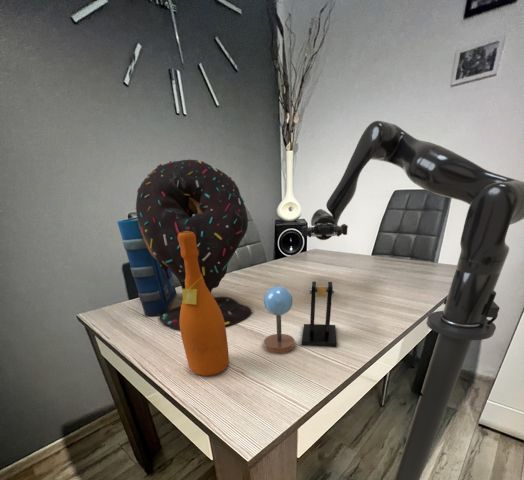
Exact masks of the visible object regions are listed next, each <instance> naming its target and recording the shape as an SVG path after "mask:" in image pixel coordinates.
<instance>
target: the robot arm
mask: <svg viewBox="0 0 524 480" xmlns="http://www.w3.org/2000/svg"><path fill="white" fill-rule="evenodd" d="M371 160H373V161H379V162H385V163H389V164H392V165H393V166H396V167H398V168H400V169H402V171H403V172H404V173H405V175H406V177H407V178H408V179H409V181H411V182H413V183H414V184H415V186H418V187H420V188H422V189H423V190H425V191H427V192H429V193H432V194H434V195H438V196H441V197H445V198H449V199H453V200H457V201H460V202H464V203H466V204H468V205H469V206H468V210H467V212H466V216H465V220H464V223H463V228H462V232H461V236H460V254H459V257H458V261H457V263H456V268H455V271H454V274H453V277H452V281H451V284H450V287H449V290H448V294H447V297H446V298H445V299H444V301H443V305H444V307H443V310H442V311H443V313H442V316H441V320H442V321H443V322H444V323H446V324H448V325H451V326H454V327H459V328H468V329H471V328H478V327H480V328H483V327H484V324H485V321H486V319H488V318H491V319H489V320H490V321H488V322H487V324H489V325H490V324H491V323H492V322H493V323H494V322H495V321H496V320H497V319H498V316H499V312H500V309H501V308H500V306H499V305H498V304H497V303H496V302H495V298H496V296H497V292H496V291H495V289H496V287H497V284H498V281H499V278H500V275H501V273H502V271H503V268H504V265H505V262H506V260H507V258H508V255H509V252H510V247H509V245H508V244H506V243H507V242H506V238H507V234H508V231H509V228H510V226H511V225H513V224H517V223H519V222H521V221H523V220H524V181H522V180H519V179H515V178H511V177H509V176H504V175H501V174H498V173H496V172H493V171H490V170H488V169H486V168H483V167H482V166H480V165H478V164H476V163H475V162H473V161H471V160H469V159H468V158H466V157H464V156H462V155H461V154H459V153H456V152H455V151H453V150H450V149H448V148H446V147H444V146H441V145H438V144H435V143H433V142H430V141H426V140H420V139H417V138H415V137H414V136H412V135H411V134H409V133H408V132H407V131H406V130H403V129H402V127H400V126H398V125H397V124H394V123H391V122H387V121H383V120H375V121H372V122H371V123H369V125H368V126H367V127H366V128H365V130H364V131H363V133H362V135H361V136H360V138H359V140H358V143H357V144H356V147H355V148H354V151H353V153H352V155H351V157H350V160H349V162H348V163H347V166H346V168H345V171H344V173H343V175H342V176H341V178H340V180H339V182H338V184H337V185H336V187H335V189H334V190H333V192H332V194H331V195H330V196H329V198H328V200H327V202H326V204H325V207H326V209H327V211H328V212H327V211H326V210H325V209H322V208H320V209H317V210H316V211H315V212H314V213H313V215H312V217H311V219H310V225H311V226H308V225H303V226H302V227H301V236H302V237H308V238H312V237H314V238H316V239H317V240H319V241H326V240H329V239H331V238H332V237H340V236H342V235H344V236H347V235H348V228H349V226H348V224H345V223H343V224H341V225H339V224H338V223H339V220H340V218H341V216H342V214H343V213H344V211H345V209H346V208H347V207H348V205H349V204H350V203H351V201H352V200H353V198H354V196H355V194H356V191H357V187H358V181H359V178H360V175H361V173H362V171H363V169H364V168H365V166H366V165H367V164H368V163H369V162H370V161H371Z"/></svg>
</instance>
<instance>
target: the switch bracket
mask: <svg viewBox="0 0 524 480" xmlns="http://www.w3.org/2000/svg"><path fill="white" fill-rule="evenodd" d="M316 287H317V281H312V282H311V287H310V288H309V295H310V317H309V318H310V319H309V320H310V321H309V322H310V323H303V328H302V334H301V335H302V336H301V342H300V345H301V346H305V347H307V346H308V347H325V348H326V347H328V348H337V346H338V339H337V329H336V327H337V325H336V324H331V313H332V301H333V299H332V298H333V295H334V294H335V288H333V281H328V282H327V287H328V291H327V292H326V309H325V322H324V324H319V323H318V324H316V323H315V318H316V317H315V316H316V297H317V292H316Z"/></svg>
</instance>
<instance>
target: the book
mask: <svg viewBox="0 0 524 480" xmlns="http://www.w3.org/2000/svg"><path fill="white" fill-rule="evenodd" d="M116 222H117V226H118V229H119V232H120V236H121V240H122V245H123V248H124V250H125V253H126V256H127V260H128V263H129V266H130V272H131V274H132V277H133V280H134V283H135V286H136V289H137V294H138V298H139V301H140V303H141V306H142V309H143V313H144V315H145V316H146V317H156V316H161V315H162V314H163V313H165V312H166V311H168V310H169V308H170V306H171V304H172V303H173V301H174V299H175V298H176V296H177V290H176V286H175V282H174V277H173V273H172V272H171V269H170V268H168V269H167V271H168V275H169V279H167V278H166V272H165V271H164V270H163V269H162V267H161V266H160V264H159V262H158V261H157V260H156V259H155V258H154V257H153V256H152V255H151V253H150V252H149V250H148V248H147V246H146V243H145V241H144V239H143V236H142V233H141V231H140V228H139V224H138V218H137V216H134V217H131V218H126V219H121V220H117V221H116Z"/></svg>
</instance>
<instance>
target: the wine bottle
mask: <svg viewBox="0 0 524 480" xmlns="http://www.w3.org/2000/svg"><path fill="white" fill-rule="evenodd" d="M178 241H179V244H180V249H181V256H182V258H183V259H184V263H185V271H186V279H185V282H184V284H185V289H183V290H182V300H181V305H180V306H181V310H180V320H179V323H180V330H179V332H180V337H181V340H182V344H183V349H184V353H185V357H186V361H187V364H188V367H189V369H190V371H191V372H192V373H193V374H195V375H198V376H205V377H207V376H214V375H216V374H219V373H221V372H223V371H224V370H225V369H226V368H227V367H228V365H229V363H230V356H229V343H228V336H227V328H226V327H225V322H224V318H223V315H222V312H221V310H220V308H219V306H218V304H217V302H216V301H215V299H214V298H215V297H214V296H213V294H212V292H211V293H210V291H209V290H208V288H207V286H206V285H205V282H204V279H203V276H202V274H201V272H200V268H199V264H198V259H197V257H198V255H199V253H198V250H197V245H196V236H195V234H194V233H193V232H191V231H184V232H181V233H179V234H178Z"/></svg>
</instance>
